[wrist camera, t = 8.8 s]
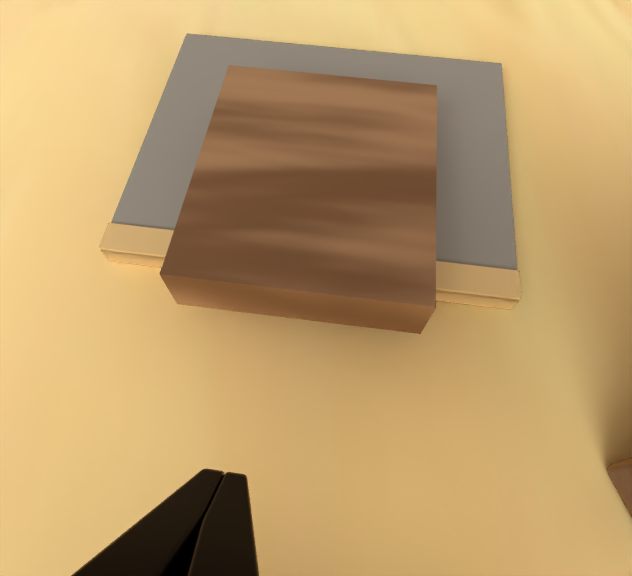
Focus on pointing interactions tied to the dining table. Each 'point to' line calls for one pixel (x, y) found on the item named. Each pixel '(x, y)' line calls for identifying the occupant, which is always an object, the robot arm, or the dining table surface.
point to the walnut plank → (313, 202)
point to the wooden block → (623, 480)
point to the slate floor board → (448, 74)
